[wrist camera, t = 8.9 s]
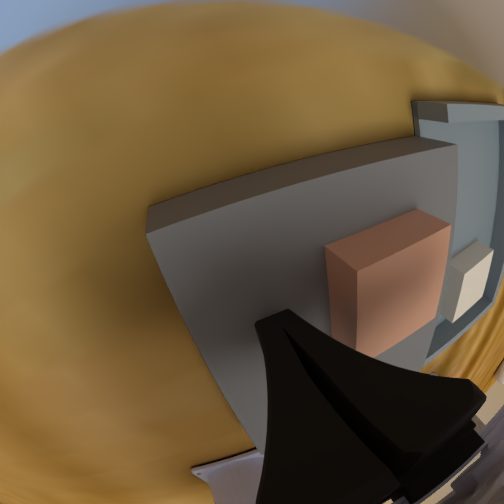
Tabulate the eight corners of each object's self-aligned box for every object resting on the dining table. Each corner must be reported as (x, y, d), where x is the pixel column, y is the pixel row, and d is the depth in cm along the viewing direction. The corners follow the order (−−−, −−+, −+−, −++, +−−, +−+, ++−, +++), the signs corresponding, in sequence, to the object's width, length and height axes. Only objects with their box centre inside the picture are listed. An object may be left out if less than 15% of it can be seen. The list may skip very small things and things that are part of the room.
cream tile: (452, 323, 18) (436, 310, 20) (482, 296, 19) (467, 286, 21) (464, 274, 16) (445, 262, 18) (493, 249, 17) (476, 240, 19)
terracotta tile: (410, 297, 13) (435, 317, 12) (331, 340, 12) (354, 368, 11) (417, 208, 11) (451, 224, 9) (324, 245, 10) (357, 271, 8)
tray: (478, 293, 24) (493, 304, 22) (399, 354, 21) (416, 371, 19) (497, 103, 14) (520, 108, 12) (411, 101, 12) (446, 103, 10)
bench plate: (401, 346, 21) (422, 368, 18) (248, 423, 19) (261, 454, 16) (415, 135, 13) (457, 144, 10) (148, 207, 10) (145, 234, 8)
